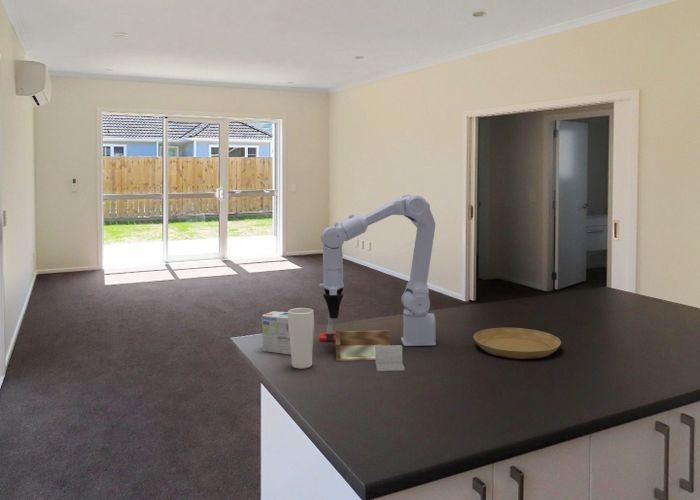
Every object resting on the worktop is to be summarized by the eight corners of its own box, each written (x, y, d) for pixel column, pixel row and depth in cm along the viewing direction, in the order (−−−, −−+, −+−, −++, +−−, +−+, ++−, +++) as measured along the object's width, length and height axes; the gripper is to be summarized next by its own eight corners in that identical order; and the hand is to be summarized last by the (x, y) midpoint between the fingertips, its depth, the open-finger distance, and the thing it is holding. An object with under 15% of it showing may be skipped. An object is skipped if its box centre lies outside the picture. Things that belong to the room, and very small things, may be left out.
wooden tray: (389, 343, 170) (389, 330, 170) (394, 357, 156) (394, 343, 156) (335, 344, 170) (335, 331, 169) (336, 358, 156) (335, 344, 155)
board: (389, 345, 170) (389, 343, 170) (394, 359, 156) (394, 357, 156) (335, 346, 170) (335, 344, 170) (336, 360, 156) (336, 358, 156)
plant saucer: (567, 364, 151) (567, 352, 151) (473, 359, 156) (474, 348, 156) (553, 339, 175) (554, 329, 174) (473, 336, 179) (473, 326, 179)
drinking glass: (318, 363, 154) (317, 308, 152) (308, 371, 147) (307, 314, 146) (295, 361, 156) (294, 307, 154) (284, 368, 149) (283, 312, 148)
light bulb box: (305, 349, 167) (305, 313, 166) (294, 355, 161) (293, 318, 160) (274, 345, 172) (273, 310, 170) (262, 351, 165) (260, 314, 164)
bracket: (401, 363, 153) (401, 345, 153) (404, 370, 147) (404, 351, 147) (375, 364, 153) (375, 345, 152) (377, 371, 147) (377, 352, 146)
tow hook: (322, 335, 184) (315, 341, 175) (322, 295, 183) (316, 300, 174) (347, 336, 183) (343, 343, 173) (348, 296, 181) (343, 300, 172)
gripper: (319, 265, 172) (320, 309, 174) (318, 273, 158) (319, 321, 159) (343, 264, 172) (344, 309, 174) (343, 272, 158) (344, 320, 159)
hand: (334, 315), depth 167 cm, fingers open, 7 cm apart
